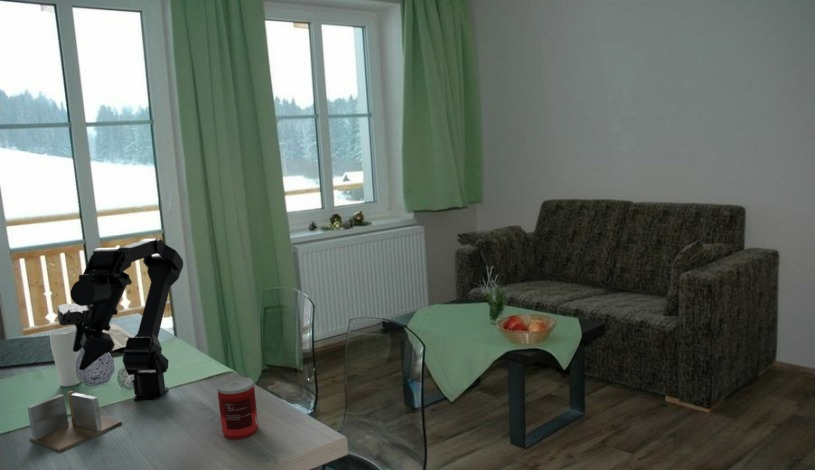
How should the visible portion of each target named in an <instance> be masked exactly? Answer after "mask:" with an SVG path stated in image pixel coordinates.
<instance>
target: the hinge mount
mask: <svg viewBox="0 0 815 470" xmlns="http://www.w3.org/2000/svg"><path fill="white" fill-rule="evenodd" d="M74 393H75V392H74V390H70V391H67V397H68V404H69V410H70V411H69V412H70V417H71V420H68V419H69V418H68V412H67V406H66V399H65V395H64V394H62V393H61V394H58V395H55V396H53V397H50V398H48V399H45V400H42V401H40V402H38V403H35V404H31V405H28V406H27V412H28V418H29V424H30V425H29V426H30V431H31V436H30V437H29V441H31V442H33V443H36V444H38V445H41V446H42V447H43V446H44V447H45V448H48V449H51V450H53V451H56V452H58V453H61V452H63V451H65V450H68V449H70V448H72V447H74V446H77V445H79V444H81V443H83V442H86V441H87V440H88V441H89V440H90V439H92V438H94V437H97V436H99V435H100V434H103V433H106V432H107V431H108V432H109V430H111V429H114V428H117V427H118V426H121V425H122V421H120V420H118V419H114V418H111V417H108V416H106V415H102V414H100V418H101V425H102V429H101V430H99V431H95V430H91V429H87V428H83V427H79V426H76V424H75V418H74V411H73V404H72V398H71V394H74Z"/></svg>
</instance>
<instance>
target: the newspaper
mask: <svg viewBox="0 0 815 470" xmlns="http://www.w3.org/2000/svg"><path fill="white" fill-rule="evenodd" d="M110 327H111V328H110V330H109V331H106V330H103V331H102V332H103V333H108V334H110V336H111V337H112V339H113V342H114V344H115V346H114V348H113V350H112V352H110V354H111V356H114V355H117V354H120V353H119V352H117V351H115V350H118V349H122V348H125V347H126V342H127V339H128V338H129V337H135V336H136V335H133V334H131V333H130V332H129V333H128V331H125V330H124V329H123V328H122V327H121V326H119V325H118V324H116V323H113V324H110Z"/></svg>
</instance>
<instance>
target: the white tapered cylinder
mask: <svg viewBox="0 0 815 470" xmlns="http://www.w3.org/2000/svg"><path fill="white" fill-rule="evenodd" d="M75 333H76V326H75V327H73V326H70V327H69V326H68V327H60V328H58V329H54V330H52V331H50V332H49V340H50V341H49V342H50V348H51V351H52V352H51V353H52V355H53V360H54V364H55V368H56V372H57V376H58V380H59V385H60V386H61V387H63V388H64V387H66V388H67V387H73V386H76V385H78V384H80V383H81V382H79V381H78V379H77V377H76V361H77V358H78V355H79V354H80V355H81V349H80V350H79V351H78V352H74V351H73V345H74V339H75Z"/></svg>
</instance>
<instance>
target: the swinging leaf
mask: <svg viewBox="0 0 815 470" xmlns="http://www.w3.org/2000/svg"><path fill="white" fill-rule="evenodd" d="M71 398H72V404H73V411H74V418H75V424H76V426H79V427H83V428H87V429H91V430H95V431H99V430H101V429H102V425H101V418H100V415H101V413H100V405H99V397H98V396H93V395H89V394H84V393H79V392H74V394H71Z"/></svg>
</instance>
